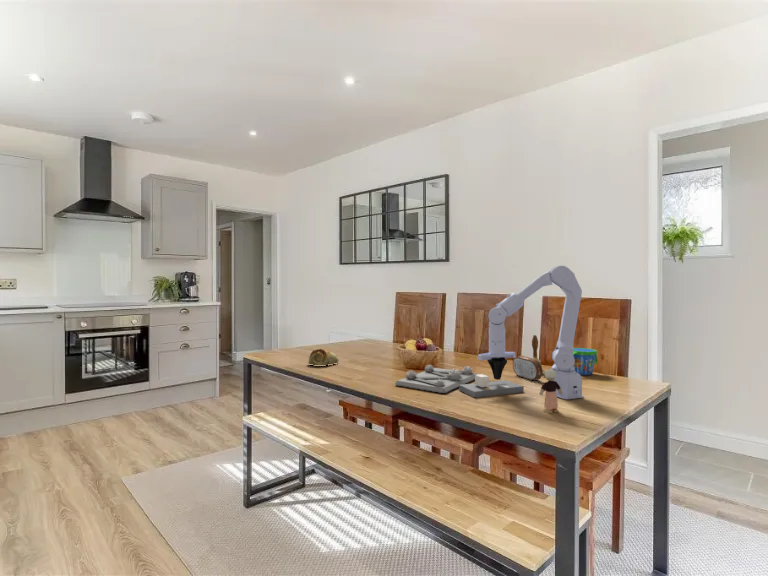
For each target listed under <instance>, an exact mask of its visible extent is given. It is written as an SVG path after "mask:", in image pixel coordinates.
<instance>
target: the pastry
mask: <svg viewBox="0 0 768 576" xmlns="http://www.w3.org/2000/svg"><path fill="white" fill-rule="evenodd" d="M307 362H308V363H309V364H313V365H328V364H334V363H338V364H339V358H338V355H337V354H336V353H334V352H332V351H328V350H326V349H323V348H318V349H314V350H312V351H311V352H310V354H309V358H308V361H307ZM308 363H307V364H308Z"/></svg>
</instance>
